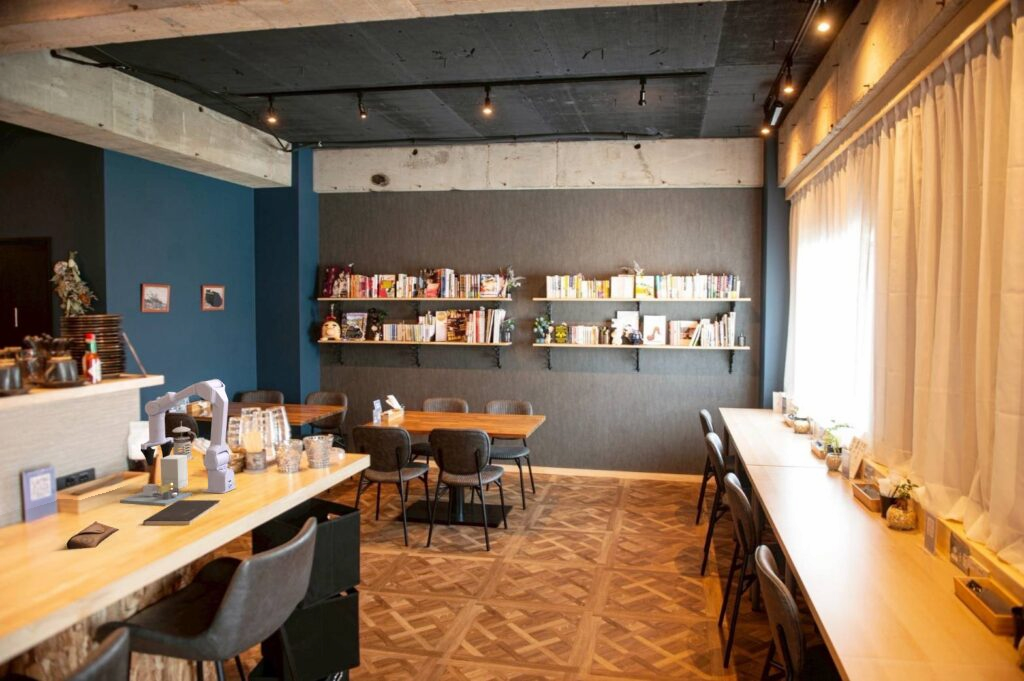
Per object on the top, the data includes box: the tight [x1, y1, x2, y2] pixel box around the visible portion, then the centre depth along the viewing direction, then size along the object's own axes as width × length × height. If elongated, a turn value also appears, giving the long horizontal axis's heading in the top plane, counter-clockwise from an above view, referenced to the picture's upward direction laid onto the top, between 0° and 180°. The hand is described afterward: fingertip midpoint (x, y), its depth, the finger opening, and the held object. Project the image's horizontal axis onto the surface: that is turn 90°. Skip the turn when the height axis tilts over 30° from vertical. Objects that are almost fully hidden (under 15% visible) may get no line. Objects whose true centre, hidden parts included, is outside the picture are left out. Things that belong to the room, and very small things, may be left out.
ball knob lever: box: [158, 482, 173, 494], centre depth 261 cm, size 2×6×2 cm, turn 167°
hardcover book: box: [142, 499, 221, 526], centre depth 246 cm, size 16×23×2 cm
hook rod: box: [142, 483, 178, 497], centre depth 265 cm, size 14×3×4 cm, turn 77°
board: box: [119, 490, 193, 507], centre depth 265 cm, size 20×14×1 cm
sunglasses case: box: [66, 521, 120, 550], centre depth 221 cm, size 18×7×7 cm
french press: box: [172, 406, 197, 461], centre depth 334 cm, size 10×12×25 cm
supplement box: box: [160, 454, 189, 490], centre depth 281 cm, size 7×7×13 cm
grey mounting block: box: [163, 488, 180, 500], centre depth 264 cm, size 2×6×3 cm, turn 167°
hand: (158, 463), depth 280 cm, fingers open, 7 cm apart
